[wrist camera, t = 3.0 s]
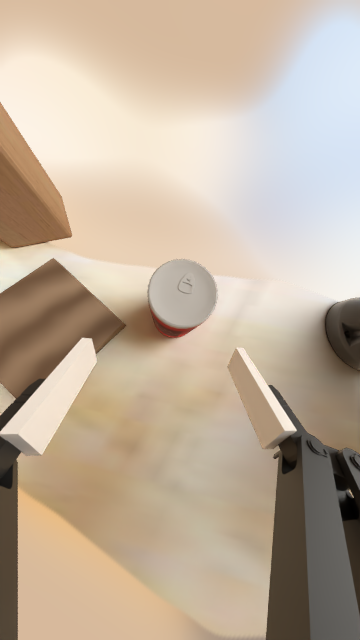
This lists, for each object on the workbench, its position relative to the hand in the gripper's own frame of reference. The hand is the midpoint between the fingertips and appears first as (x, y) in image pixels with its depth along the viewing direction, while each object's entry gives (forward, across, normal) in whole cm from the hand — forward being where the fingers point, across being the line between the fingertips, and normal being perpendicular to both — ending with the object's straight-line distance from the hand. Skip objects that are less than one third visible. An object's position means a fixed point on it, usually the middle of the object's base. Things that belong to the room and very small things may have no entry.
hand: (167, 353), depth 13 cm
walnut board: (+10, -18, -6) cm, 21 cm away
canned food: (+12, +1, -3) cm, 13 cm away
